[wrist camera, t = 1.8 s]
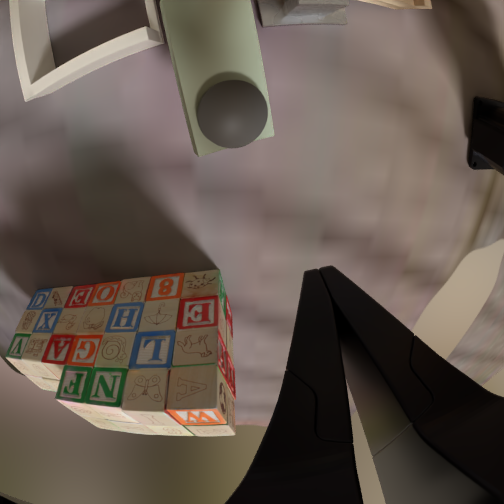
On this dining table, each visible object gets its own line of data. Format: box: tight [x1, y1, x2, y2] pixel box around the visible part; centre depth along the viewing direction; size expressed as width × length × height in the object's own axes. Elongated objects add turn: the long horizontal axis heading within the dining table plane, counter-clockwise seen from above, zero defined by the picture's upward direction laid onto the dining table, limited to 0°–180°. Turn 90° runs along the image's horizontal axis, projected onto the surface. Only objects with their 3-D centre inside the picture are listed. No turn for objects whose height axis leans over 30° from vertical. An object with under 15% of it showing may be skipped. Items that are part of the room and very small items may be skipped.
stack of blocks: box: [5, 269, 236, 436], centre depth 20 cm, size 21×6×12 cm, turn 97°
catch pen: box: [9, 0, 164, 102], centre depth 9 cm, size 9×9×3 cm
